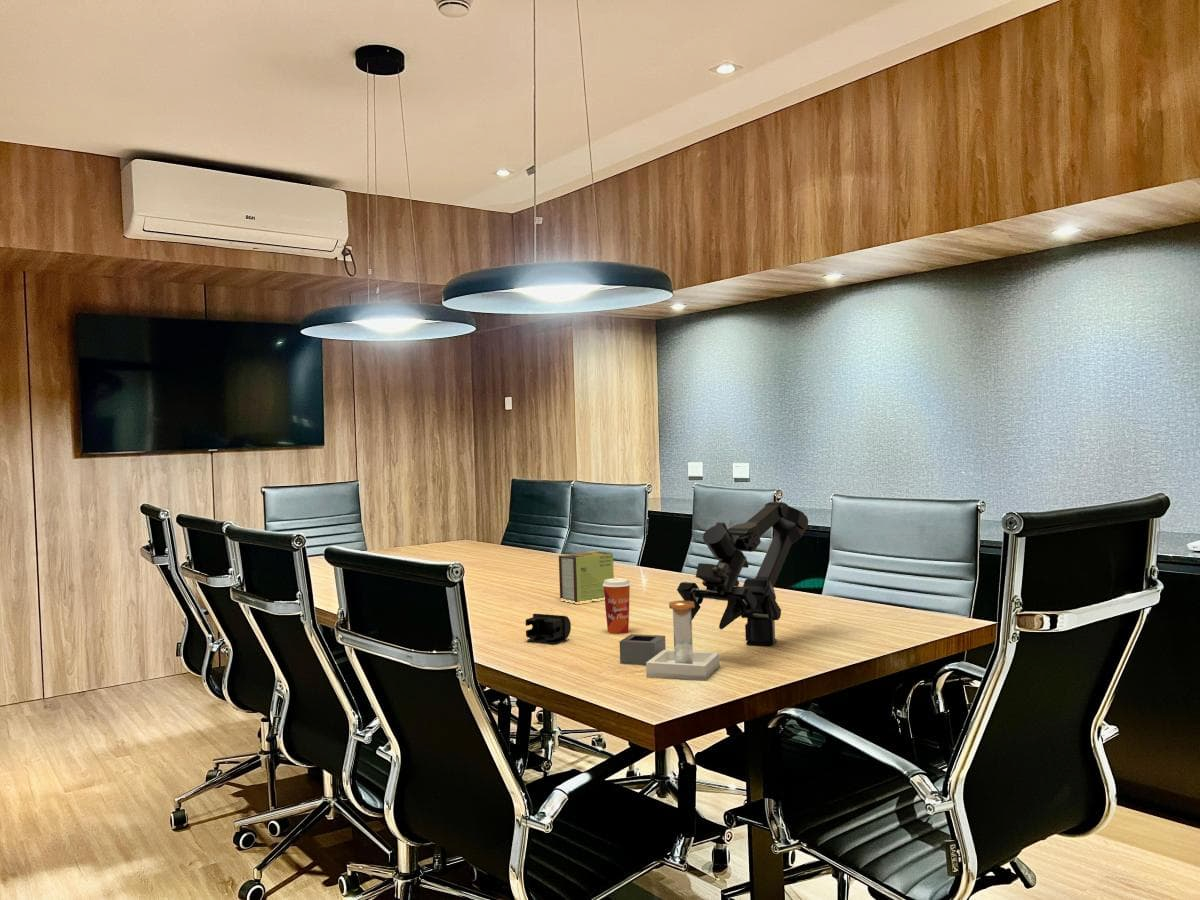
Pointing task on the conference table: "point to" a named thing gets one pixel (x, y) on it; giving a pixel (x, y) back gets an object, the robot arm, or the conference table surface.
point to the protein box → (584, 575)
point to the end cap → (548, 629)
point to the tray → (683, 666)
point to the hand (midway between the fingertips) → (703, 626)
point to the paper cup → (617, 604)
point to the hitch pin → (682, 631)
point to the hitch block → (640, 648)
